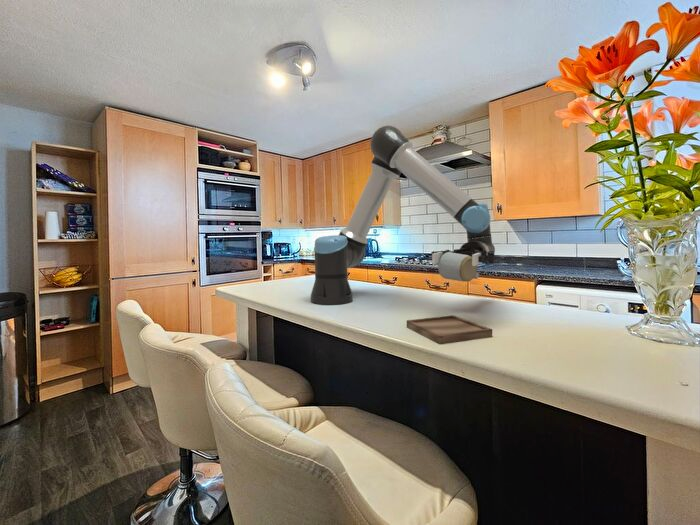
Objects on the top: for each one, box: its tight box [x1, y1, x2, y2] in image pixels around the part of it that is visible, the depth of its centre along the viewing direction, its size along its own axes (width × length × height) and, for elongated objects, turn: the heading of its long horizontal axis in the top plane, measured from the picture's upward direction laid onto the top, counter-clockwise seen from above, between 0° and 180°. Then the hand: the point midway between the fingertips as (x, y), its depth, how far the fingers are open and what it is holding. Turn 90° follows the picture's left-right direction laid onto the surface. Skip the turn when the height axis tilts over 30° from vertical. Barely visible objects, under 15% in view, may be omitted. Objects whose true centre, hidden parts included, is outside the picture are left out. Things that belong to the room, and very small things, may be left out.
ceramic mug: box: [437, 252, 480, 283], centre depth 85 cm, size 10×8×7 cm
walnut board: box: [406, 314, 493, 345], centre depth 76 cm, size 14×14×2 cm
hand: (452, 259), depth 81 cm, fingers closed on ceramic mug, 9 cm apart
